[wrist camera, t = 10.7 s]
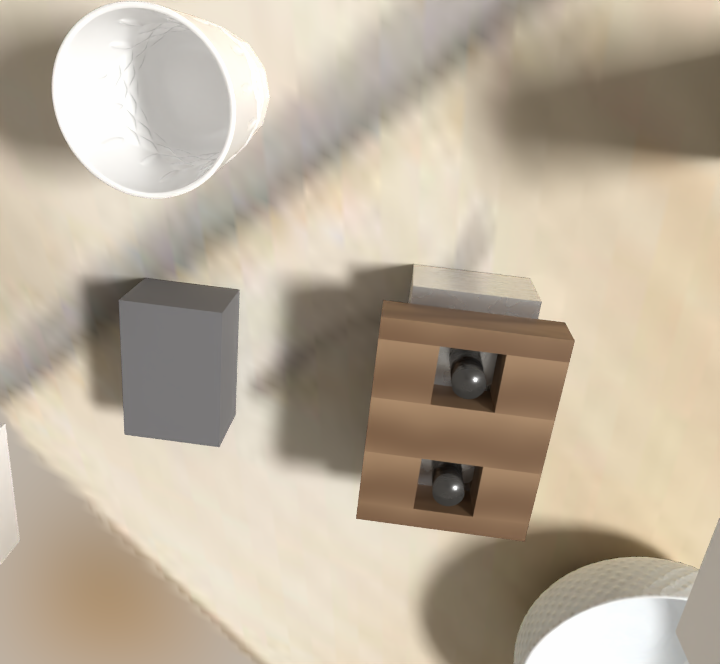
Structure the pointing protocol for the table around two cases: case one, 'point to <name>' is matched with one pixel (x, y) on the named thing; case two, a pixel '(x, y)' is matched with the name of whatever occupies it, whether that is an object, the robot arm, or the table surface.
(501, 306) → the chassis
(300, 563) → the table surface
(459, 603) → the table surface
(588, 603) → the cereal bowl
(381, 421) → the board
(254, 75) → the white cup
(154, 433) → the riser
